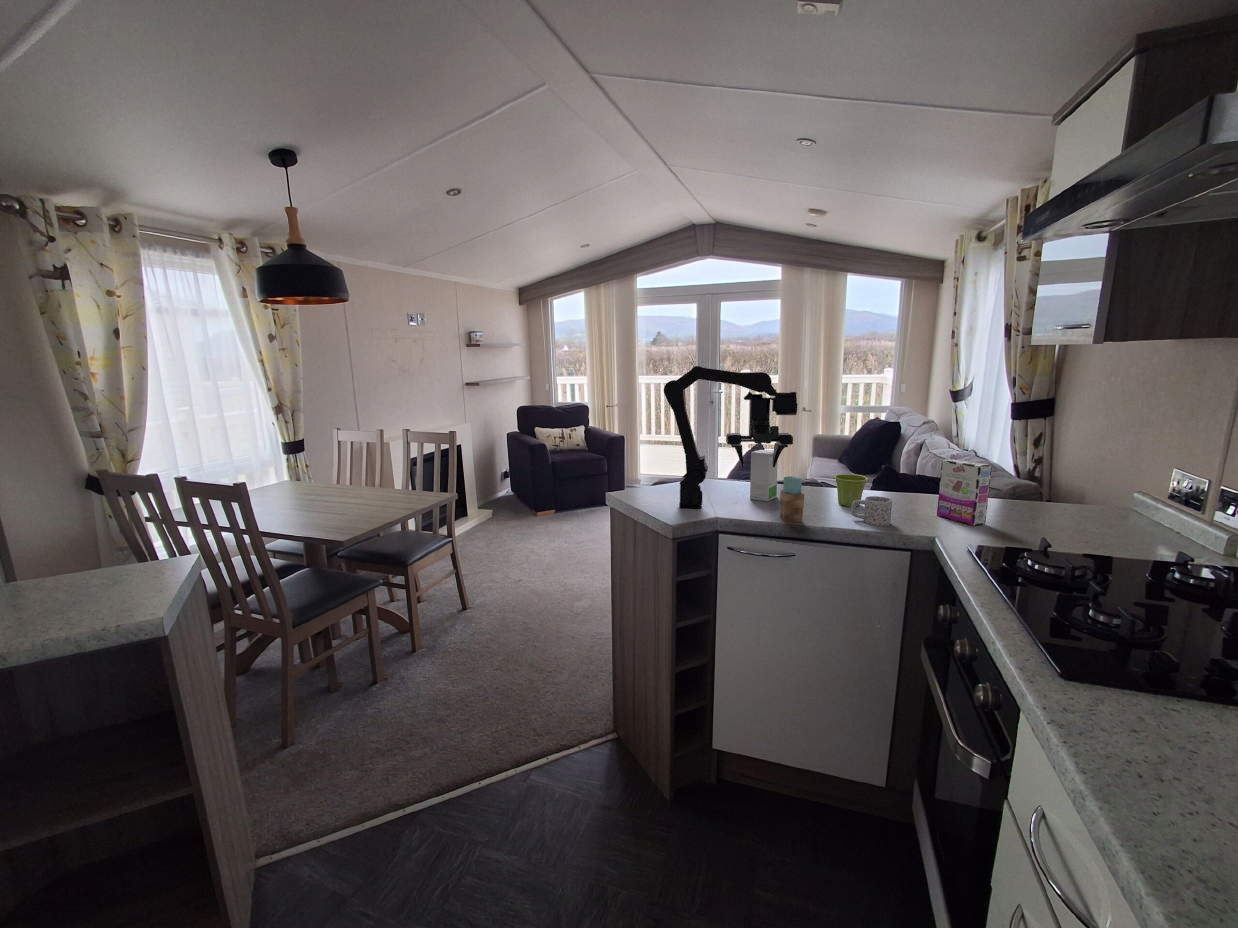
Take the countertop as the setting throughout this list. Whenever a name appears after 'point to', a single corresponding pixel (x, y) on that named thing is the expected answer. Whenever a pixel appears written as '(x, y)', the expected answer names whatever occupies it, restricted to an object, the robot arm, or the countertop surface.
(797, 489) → the teal block
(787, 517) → the tower base
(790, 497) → the tan wooden block
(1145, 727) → the countertop surface
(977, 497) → the candy bar box
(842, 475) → the plant pot
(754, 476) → the skincare box
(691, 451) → the robot arm
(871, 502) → the mug
